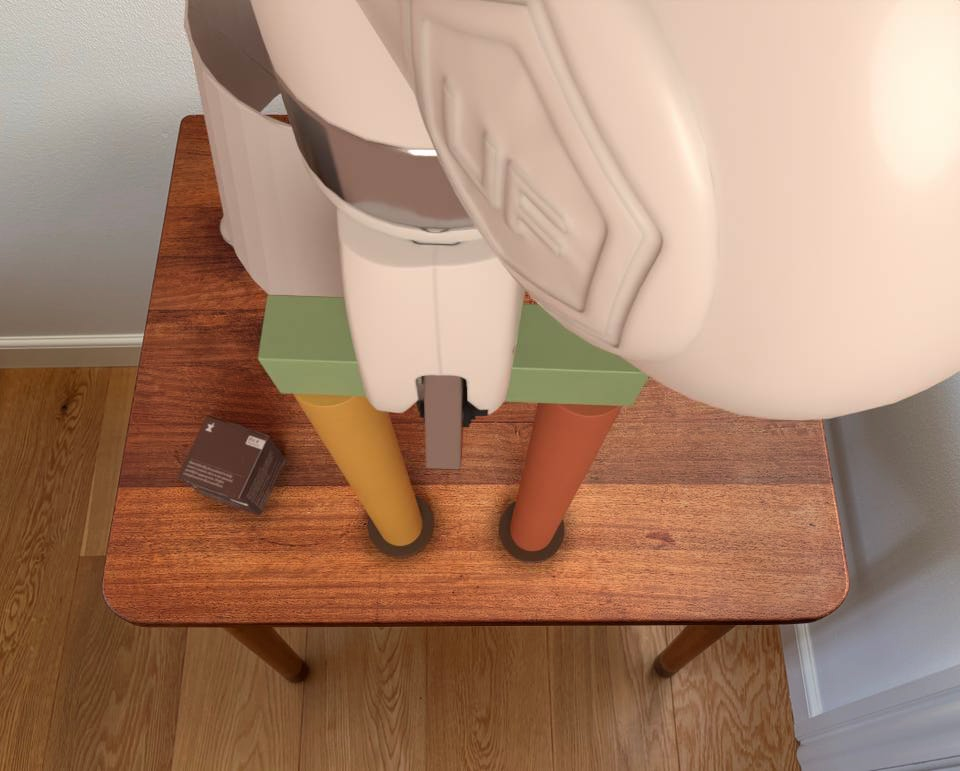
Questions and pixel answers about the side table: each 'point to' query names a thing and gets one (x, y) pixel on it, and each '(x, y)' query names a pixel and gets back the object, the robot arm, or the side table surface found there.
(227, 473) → the box
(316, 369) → the green bar
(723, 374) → the robot arm
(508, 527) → the terracotta rod
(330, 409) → the ochre rod
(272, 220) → the table lamp
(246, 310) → the side table surface
